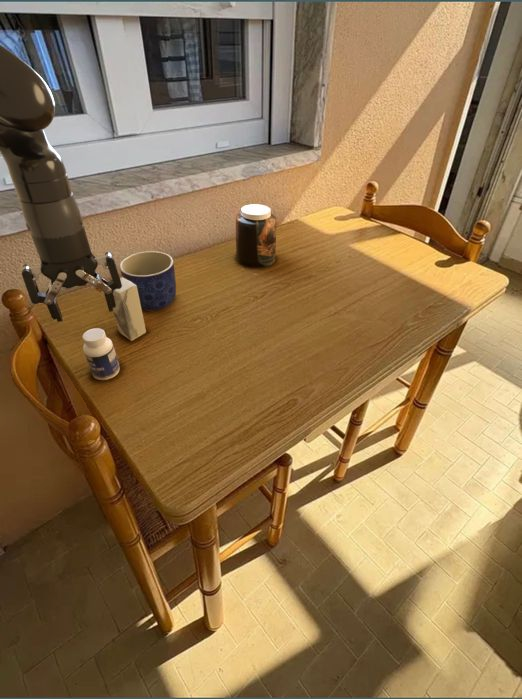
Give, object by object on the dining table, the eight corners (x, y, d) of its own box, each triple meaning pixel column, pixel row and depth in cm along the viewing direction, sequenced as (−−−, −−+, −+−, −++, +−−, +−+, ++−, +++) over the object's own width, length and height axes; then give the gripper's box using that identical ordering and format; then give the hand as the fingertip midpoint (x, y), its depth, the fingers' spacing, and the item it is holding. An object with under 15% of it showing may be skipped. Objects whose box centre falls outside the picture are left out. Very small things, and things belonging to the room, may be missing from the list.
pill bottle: (87, 379, 76) (72, 342, 69) (99, 361, 80) (86, 324, 73) (114, 382, 75) (101, 344, 69) (124, 363, 79) (113, 326, 73)
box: (118, 332, 87) (104, 284, 79) (134, 323, 90) (122, 275, 81) (132, 342, 85) (119, 293, 76) (148, 332, 87) (137, 284, 79)
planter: (175, 315, 93) (168, 276, 85) (123, 315, 92) (113, 276, 85) (182, 288, 102) (176, 251, 95) (135, 288, 102) (126, 250, 95)
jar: (234, 267, 111) (232, 216, 101) (238, 249, 120) (237, 201, 110) (274, 268, 111) (276, 218, 101) (275, 250, 120) (277, 202, 110)
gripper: (103, 211, 62) (124, 296, 73) (5, 223, 58) (42, 311, 68) (108, 228, 57) (129, 317, 68) (0, 242, 53) (41, 335, 63)
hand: (85, 314), depth 68 cm, fingers open, 8 cm apart
